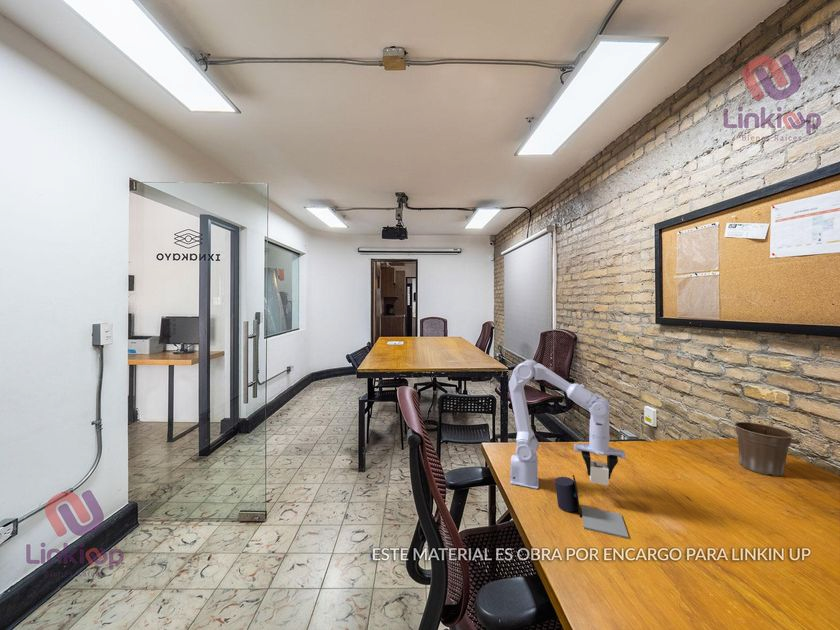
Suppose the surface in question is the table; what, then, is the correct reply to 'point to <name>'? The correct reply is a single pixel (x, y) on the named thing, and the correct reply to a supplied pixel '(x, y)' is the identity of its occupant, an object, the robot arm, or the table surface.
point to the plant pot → (763, 447)
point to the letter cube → (599, 473)
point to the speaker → (567, 494)
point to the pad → (603, 521)
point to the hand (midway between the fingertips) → (598, 475)
